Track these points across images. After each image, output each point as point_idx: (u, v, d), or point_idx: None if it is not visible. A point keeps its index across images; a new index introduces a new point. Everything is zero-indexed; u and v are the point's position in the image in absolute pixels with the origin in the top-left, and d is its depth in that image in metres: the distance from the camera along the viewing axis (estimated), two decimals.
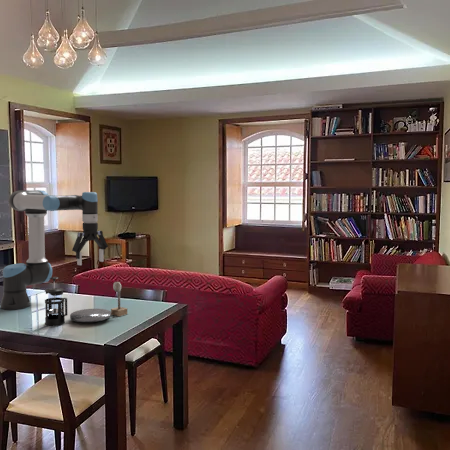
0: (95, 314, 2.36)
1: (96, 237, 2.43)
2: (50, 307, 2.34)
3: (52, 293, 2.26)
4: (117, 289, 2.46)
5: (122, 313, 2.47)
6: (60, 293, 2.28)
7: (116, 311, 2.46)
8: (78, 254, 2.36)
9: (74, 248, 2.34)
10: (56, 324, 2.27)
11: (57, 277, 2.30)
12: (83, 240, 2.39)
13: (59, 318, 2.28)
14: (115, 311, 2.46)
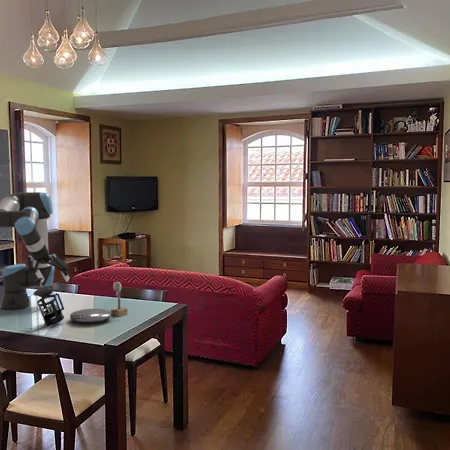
0: (95, 314, 2.36)
1: (47, 262, 2.18)
2: (45, 306, 2.32)
3: (41, 295, 2.22)
4: (117, 289, 2.46)
5: (122, 313, 2.47)
6: (49, 293, 2.24)
7: (116, 311, 2.46)
8: (35, 274, 2.26)
9: None
10: (55, 322, 2.27)
11: (41, 278, 2.24)
12: None
13: (56, 316, 2.27)
14: (115, 311, 2.46)
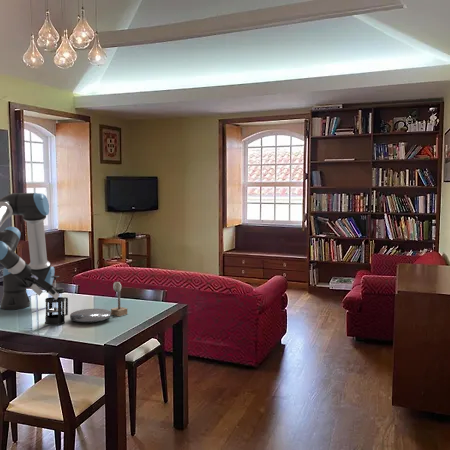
0: (95, 314, 2.36)
1: (31, 282, 2.16)
2: (51, 306, 2.34)
3: None
4: (117, 289, 2.46)
5: (122, 313, 2.47)
6: (60, 291, 2.29)
7: (116, 311, 2.46)
8: None
9: None
10: (56, 323, 2.27)
11: (58, 276, 2.32)
12: None
13: (59, 317, 2.28)
14: (115, 311, 2.46)
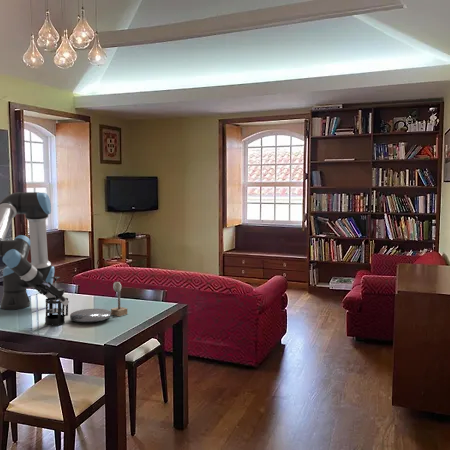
0: (95, 314, 2.36)
1: (42, 289, 2.22)
2: (51, 306, 2.34)
3: None
4: (117, 289, 2.46)
5: (122, 313, 2.47)
6: None
7: (116, 311, 2.46)
8: (46, 295, 2.33)
9: None
10: (55, 324, 2.27)
11: (58, 277, 2.30)
12: None
13: (59, 318, 2.28)
14: (115, 311, 2.46)
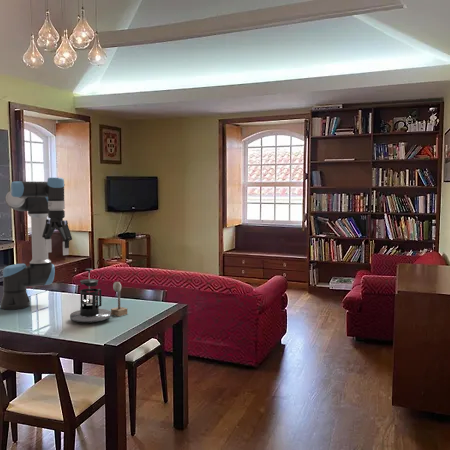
0: None
1: (56, 226, 2.24)
2: (85, 298, 2.40)
3: (87, 284, 2.32)
4: (117, 289, 2.46)
5: (122, 313, 2.47)
6: (94, 284, 2.34)
7: (116, 311, 2.46)
8: None
9: None
10: (90, 314, 2.33)
11: None
12: None
13: (93, 308, 2.34)
14: (115, 311, 2.46)
